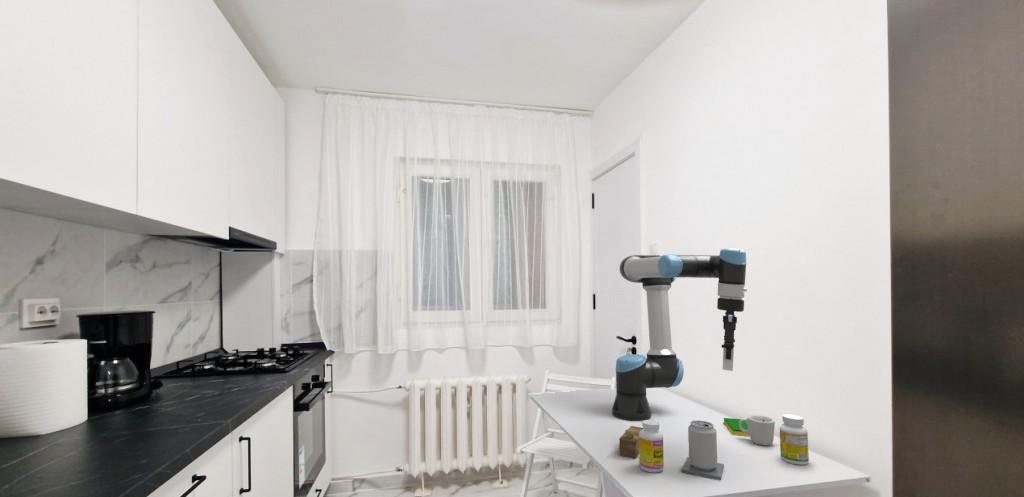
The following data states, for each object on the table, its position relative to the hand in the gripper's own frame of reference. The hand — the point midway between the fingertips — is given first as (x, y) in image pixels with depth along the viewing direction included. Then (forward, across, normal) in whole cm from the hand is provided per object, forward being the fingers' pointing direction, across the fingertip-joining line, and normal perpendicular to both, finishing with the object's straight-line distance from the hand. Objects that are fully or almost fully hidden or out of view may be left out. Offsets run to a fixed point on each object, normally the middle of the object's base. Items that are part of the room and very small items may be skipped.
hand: (727, 366), depth 137 cm
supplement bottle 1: (+28, -21, +18) cm, 40 cm away
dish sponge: (+28, +28, -5) cm, 40 cm away
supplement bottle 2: (+26, +4, -19) cm, 33 cm away
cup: (+27, +17, -10) cm, 33 cm away
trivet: (+27, -15, +5) cm, 32 cm away
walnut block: (+29, -9, +26) cm, 40 cm away
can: (+27, -15, +5) cm, 31 cm away
